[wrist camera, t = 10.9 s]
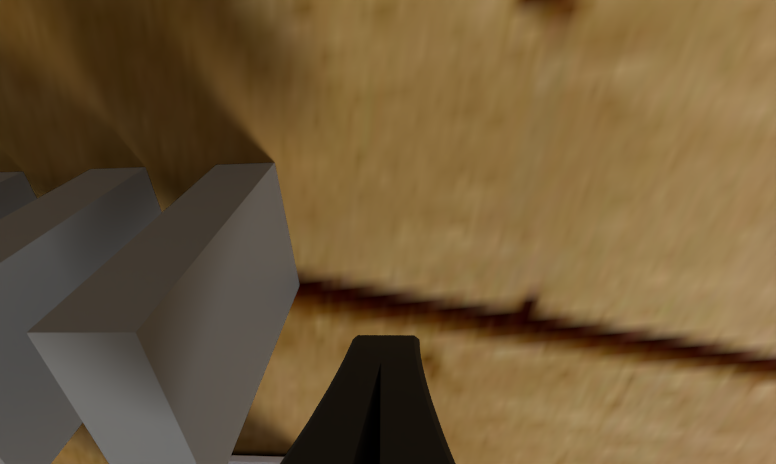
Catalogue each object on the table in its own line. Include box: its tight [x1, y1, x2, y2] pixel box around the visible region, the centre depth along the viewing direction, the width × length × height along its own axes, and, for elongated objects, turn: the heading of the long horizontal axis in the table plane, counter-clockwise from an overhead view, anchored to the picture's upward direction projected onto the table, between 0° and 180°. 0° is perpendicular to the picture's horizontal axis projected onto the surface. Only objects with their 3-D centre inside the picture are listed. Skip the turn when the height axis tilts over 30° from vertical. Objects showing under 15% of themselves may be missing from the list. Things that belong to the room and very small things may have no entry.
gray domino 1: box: [0, 167, 162, 464], centre depth 12 cm, size 2×5×8 cm, turn 4°
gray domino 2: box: [26, 163, 299, 464], centre depth 12 cm, size 2×5×8 cm, turn 3°
